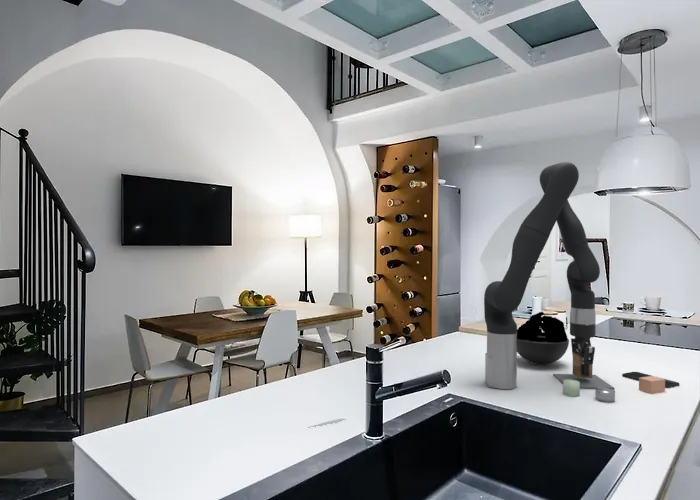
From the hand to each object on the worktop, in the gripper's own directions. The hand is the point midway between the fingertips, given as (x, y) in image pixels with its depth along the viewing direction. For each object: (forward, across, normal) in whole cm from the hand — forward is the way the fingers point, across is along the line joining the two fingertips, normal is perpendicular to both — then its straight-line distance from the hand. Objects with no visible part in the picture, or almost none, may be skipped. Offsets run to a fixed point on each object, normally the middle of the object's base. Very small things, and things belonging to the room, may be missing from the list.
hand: (582, 373), depth 152 cm
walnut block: (+1, 0, 0) cm, 1 cm away
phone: (+4, -4, +23) cm, 24 cm away
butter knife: (+3, +48, -84) cm, 97 cm away
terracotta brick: (+3, +7, +18) cm, 20 cm away
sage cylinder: (+3, +13, -8) cm, 16 cm away
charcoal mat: (+3, 0, 0) cm, 3 cm away
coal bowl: (+3, -22, -7) cm, 23 cm away
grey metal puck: (+3, +17, 0) cm, 17 cm away
